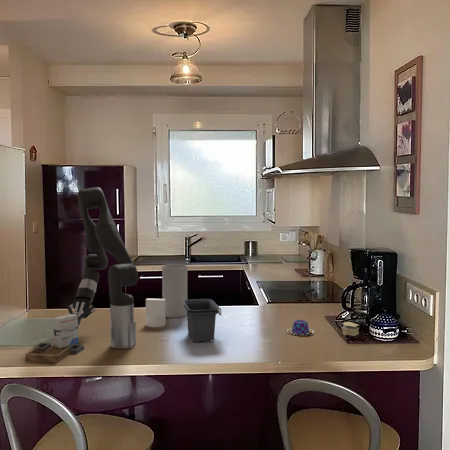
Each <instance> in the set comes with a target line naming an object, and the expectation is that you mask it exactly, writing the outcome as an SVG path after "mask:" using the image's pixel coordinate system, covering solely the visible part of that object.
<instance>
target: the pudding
mask: <svg viewBox="0 0 450 450" xmlns="http://www.w3.org/2000/svg"><path fill="white" fill-rule="evenodd" d="M289 329H292V332H293V333H296V335H297V334H306V335H308V334H307V333H309V330H312V332H313V333H312V334H310V333H309V334H310V335H313V334H314V333H315V330H313V329H311V328H309V324H308V322H307V321H306V320H304V319H303V320H302V319H297V320H293V324H292V327H291V328H288V329H287V330H286V332H287V333H289V332H288V330H289ZM292 332H291V333H292ZM291 333H289V334H291ZM291 335H292V334H291ZM294 335H295V334H293V336H294ZM310 335H309V336H310Z"/></svg>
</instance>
